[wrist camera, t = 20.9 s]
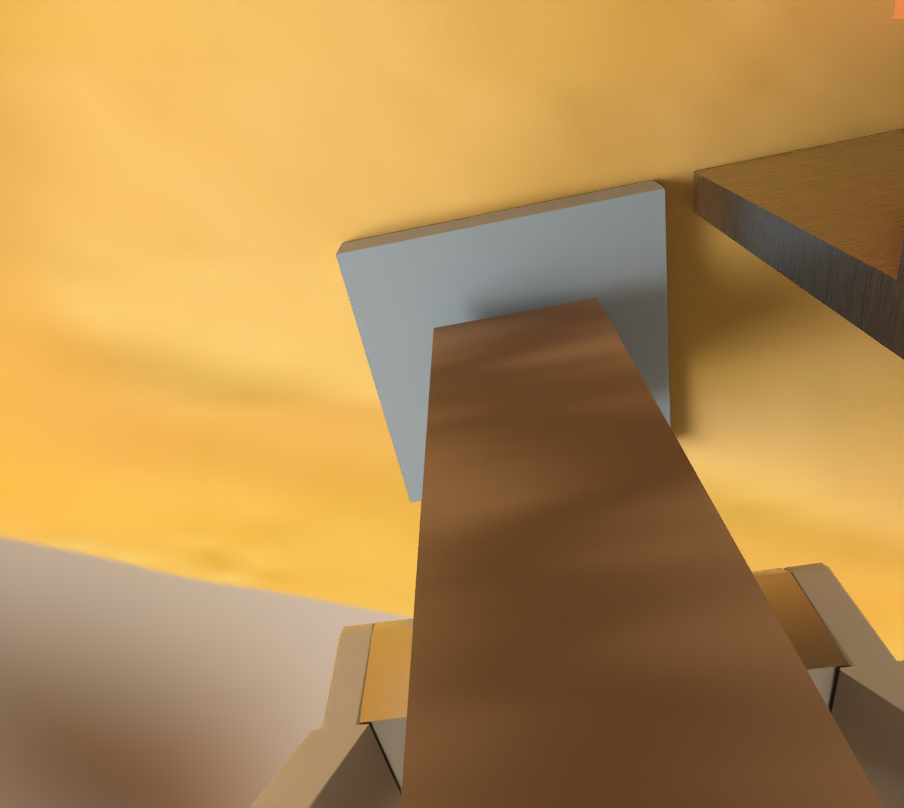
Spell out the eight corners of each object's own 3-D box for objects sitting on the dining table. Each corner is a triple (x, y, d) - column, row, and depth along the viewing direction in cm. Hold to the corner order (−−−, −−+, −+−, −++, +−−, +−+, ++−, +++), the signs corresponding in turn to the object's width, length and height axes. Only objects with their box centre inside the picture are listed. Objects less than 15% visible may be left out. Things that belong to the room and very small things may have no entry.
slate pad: (652, 179, 15) (665, 188, 14) (661, 442, 19) (671, 461, 18) (342, 243, 16) (335, 254, 15) (412, 482, 20) (410, 502, 19)
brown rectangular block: (597, 297, 15) (1264, 1486, 3) (608, 434, 17) (1017, 1467, 5) (434, 327, 15) (353, 1478, 3) (463, 458, 17) (490, 1464, 5)
